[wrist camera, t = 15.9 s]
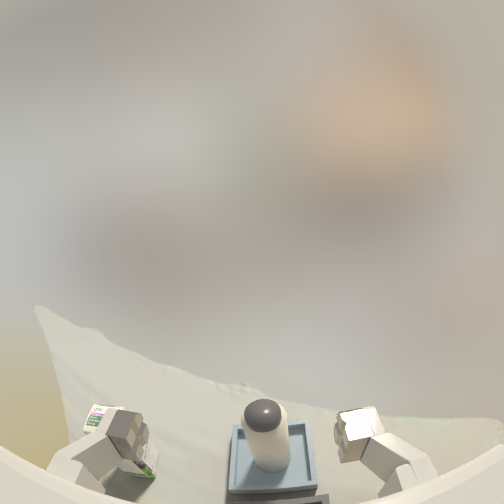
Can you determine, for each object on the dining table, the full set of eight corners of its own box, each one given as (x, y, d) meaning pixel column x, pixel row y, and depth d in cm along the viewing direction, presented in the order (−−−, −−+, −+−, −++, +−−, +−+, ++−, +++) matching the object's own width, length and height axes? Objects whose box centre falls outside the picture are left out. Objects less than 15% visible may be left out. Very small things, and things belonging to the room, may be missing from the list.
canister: (254, 473, 32) (237, 432, 27) (254, 445, 38) (240, 397, 32) (291, 471, 32) (287, 429, 27) (289, 442, 37) (284, 393, 32)
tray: (231, 493, 30) (228, 489, 29) (235, 431, 41) (233, 425, 41) (317, 488, 29) (317, 483, 28) (309, 425, 41) (309, 418, 40)
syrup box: (126, 475, 32) (80, 432, 27) (132, 449, 38) (92, 402, 32) (156, 479, 32) (113, 437, 27) (160, 451, 38) (123, 404, 32)
